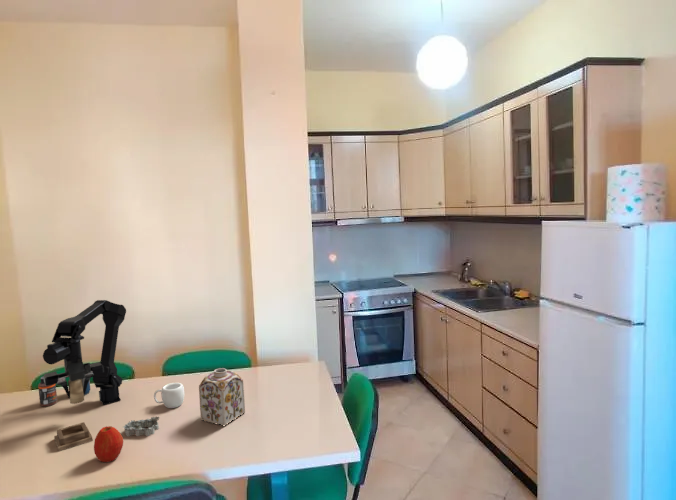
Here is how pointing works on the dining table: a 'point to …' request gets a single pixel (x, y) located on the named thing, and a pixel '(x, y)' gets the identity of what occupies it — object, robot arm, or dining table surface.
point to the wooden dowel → (76, 391)
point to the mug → (171, 395)
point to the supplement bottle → (47, 393)
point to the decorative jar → (221, 396)
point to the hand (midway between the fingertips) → (76, 395)
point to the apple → (108, 444)
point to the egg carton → (141, 427)
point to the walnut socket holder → (72, 436)
